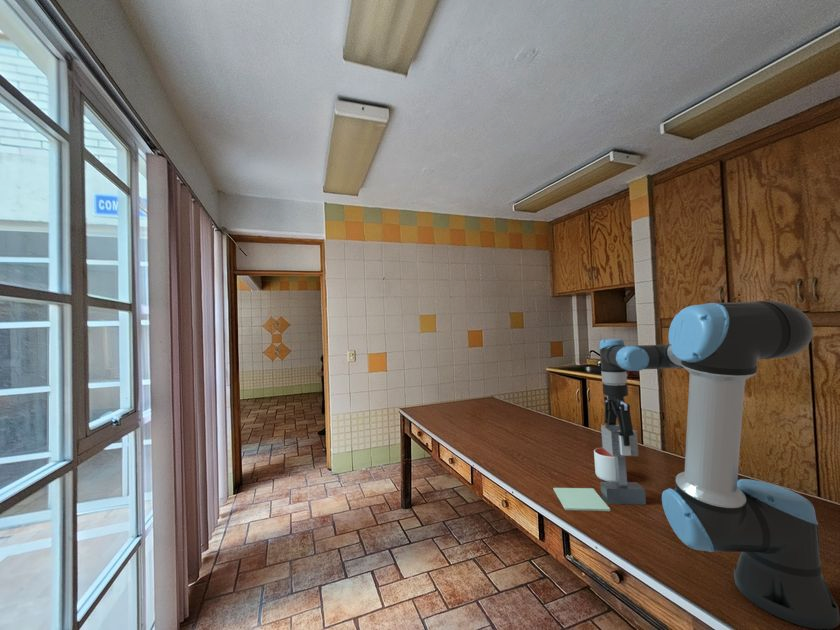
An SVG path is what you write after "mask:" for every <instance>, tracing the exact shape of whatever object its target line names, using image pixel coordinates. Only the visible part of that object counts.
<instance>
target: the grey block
mask: <svg viewBox="0 0 840 630" xmlns="http://www.w3.org/2000/svg"><path fill="white" fill-rule="evenodd" d="M626 460H627V459H626V456H615V468H616V482H607V481H599V483H600V494H601V496H600V497H601V499H602V500H603V501H604V502H605V503H606V505H639V506H640V505H644V506H646V505H647V501H646V498H647V497H646V489H645V488H644V487H643V486H642V485H641V484H640V483H639V482H636V481H634V482H633V481H631V482H630V481H628V478H627V462H626Z"/></svg>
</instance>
